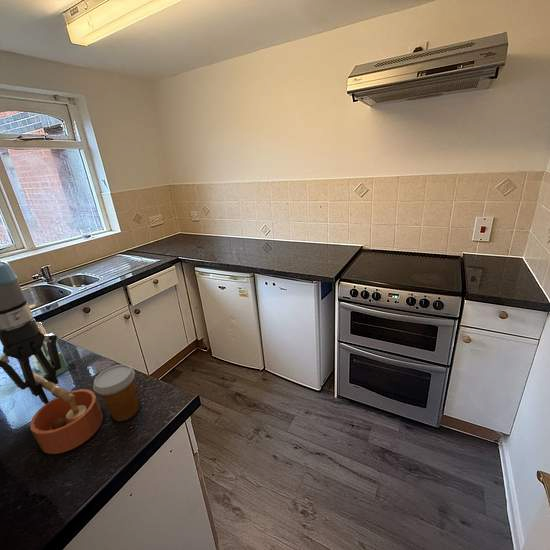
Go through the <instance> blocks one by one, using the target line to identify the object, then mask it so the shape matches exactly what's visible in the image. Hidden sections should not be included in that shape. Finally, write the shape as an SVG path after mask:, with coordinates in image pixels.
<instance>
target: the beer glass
mask: <svg viewBox="0 0 550 550" xmlns="http://www.w3.org/2000/svg"><path fill="white" fill-rule="evenodd" d="M36 323H37V325H38V328H39V330H40V332H41V333H43V334H44V335H48V333H47V330H46V329H45V327H44V325H43V323H42V322H41V321H36ZM41 350H42V351H43V353H44V356H45V357H47V356H48V355H49V352H48V348H47V342H45V340H44V342H43V345H42V348H41ZM30 358H31V359H32V360H33V361H32V362H33V364H34V368H35V371H40V369H39V367H38V365H37V363H36V362H37V361H38V360H37V358H36V357H35V355H32V356H31V357H30Z"/></svg>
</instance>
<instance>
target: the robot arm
mask: <svg viewBox="0 0 550 550" xmlns="http://www.w3.org/2000/svg"><path fill="white" fill-rule="evenodd" d="M36 322H37V321H36V319H35V318H34V315H33V313H32V310H31V308H30V306H29V304H28V301H27V299H26V297H25V295H24V292H23V289H22V288H21V285H20V283H19V280H18V277H17V275H16V274H15V272H14V270H13V269H12V267H11V265H10V264H9V262H7V261H5V260H0V343H1V345H2V354H1V355H0V368H2V370H3V371H4V372H5V374H7V376H8V377H9V378H10V380H11V381H12V382H13V383H14V385H15V386H16V387H17V388H19V389H21V390H22V391H23V390H26V389H29V391H30V392H31V394H32V395H33V396H35V397H38V398H39V399H40V401H41V402H42V403H43V404H44V405H46V404H47V403H48V402H50V400H49V399H48V397H47V395H46V392H45V391H44V390H45V389H44V388H43V387H42V386H41V384H40V383H39V382H37V381H35V379H34V376H33V372H34V371H33V369H32V366H31V364H30V358H32V357H31V356H32V355H35V357H36V358H37V360H38V362H39V363H40V365H41V366H42V368H43V369H44V371H45V372H46V373H47V374H46V375H44V378H45V379H47V380H49V381H51V382H53V383H54V384H56V385H58V384H59V379H58V377H57V376H56V371H57V370H59V369H60V368H61V363H60V359H59V355H58V352H59V351H58V345H57V339H58V335H56V334H54V333H47V335H44V334H43V333H41V332H40V330H39V328H38V325H37V323H36ZM44 340H45V342H47V348H48V352H49V356H50V360H51V365H52V366H51V365H50V363H49V362H48V360H47V359H46V357H45V356H44V353H43V351H42V350H41V348H42V345H43V342H44ZM9 357H10V358H13V359H16V360H17V361H18V363H19V366H20V369H21V372H22V375H23V378H21V376H20V375H19V373H18V372H17V371H16V370H15V369H14V367H13V366H11V365H10V359H9ZM32 371H33V372H32ZM23 379H24V380H23ZM51 395H52V396H54V398H57V397H58V396H56V395H54V394H53V393H51Z"/></svg>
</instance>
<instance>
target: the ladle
mask: <svg viewBox="0 0 550 550" xmlns="http://www.w3.org/2000/svg"><path fill="white" fill-rule="evenodd" d="M32 372H33V376H34V379H35V381H37V382H39V383H40V384H41V386H42V388H43V390H46V391H48V392H50V393H51V394H52V393H53V394H54V395H56V396H58V397H59V398H61V399H63V400H64V401H66V402H68V403H69V404H70V407H71V410H70V411H69V412H68V413H67V415H66V418H67V420H68V423H71V422H73V421H74V420H76V419H77V418H78V417H80V416H81V415H82V414H83V413H84V412H85V411H86V410H87V408H86V406H85V405H79V406H77V405H76V403H75V400H74V399H75V395H74V394H72V393H70V392H71V391H68V390H67V389H65V388H63V387H61V386H60V385H58V384H54V383H53V382H51V381H49V380H47V379H45V378H44V377H43V376H42V375H40V374H38V373H37V372H35V371H33V370H32ZM54 395H53V396H54Z"/></svg>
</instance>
